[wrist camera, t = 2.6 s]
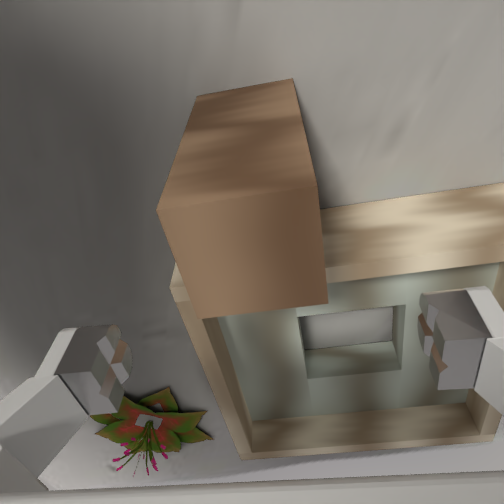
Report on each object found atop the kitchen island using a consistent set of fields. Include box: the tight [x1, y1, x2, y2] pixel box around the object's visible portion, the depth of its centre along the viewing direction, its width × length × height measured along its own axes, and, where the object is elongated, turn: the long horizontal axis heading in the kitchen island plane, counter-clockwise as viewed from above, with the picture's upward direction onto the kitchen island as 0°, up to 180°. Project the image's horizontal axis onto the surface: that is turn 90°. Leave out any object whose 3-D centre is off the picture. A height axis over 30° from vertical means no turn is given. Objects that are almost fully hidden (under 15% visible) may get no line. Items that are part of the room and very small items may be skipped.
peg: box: [156, 78, 329, 319], centre depth 17 cm, size 4×4×10 cm
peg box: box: [170, 183, 504, 460], centre depth 26 cm, size 18×18×5 cm
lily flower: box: [90, 387, 215, 476], centre depth 36 cm, size 12×12×5 cm
